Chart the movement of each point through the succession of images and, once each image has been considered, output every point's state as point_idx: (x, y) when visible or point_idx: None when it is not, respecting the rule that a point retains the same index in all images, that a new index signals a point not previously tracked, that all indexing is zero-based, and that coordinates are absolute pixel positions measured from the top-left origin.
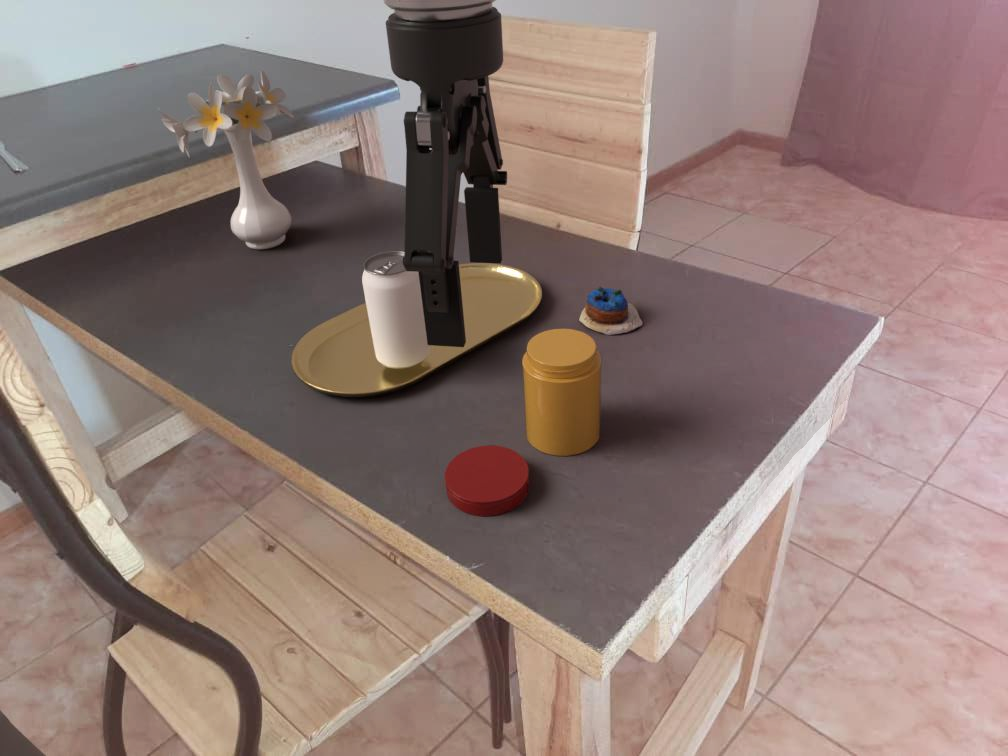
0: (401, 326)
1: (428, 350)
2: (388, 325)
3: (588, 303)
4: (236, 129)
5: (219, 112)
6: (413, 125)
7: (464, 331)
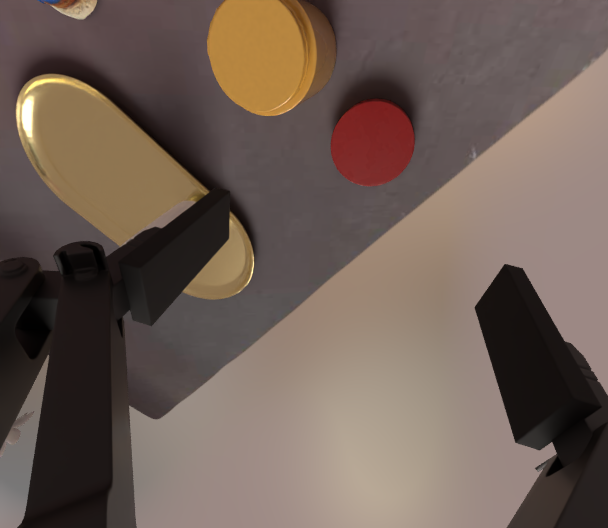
0: None
1: (194, 203)
2: None
3: (57, 1)
4: None
5: None
6: None
7: (514, 277)
